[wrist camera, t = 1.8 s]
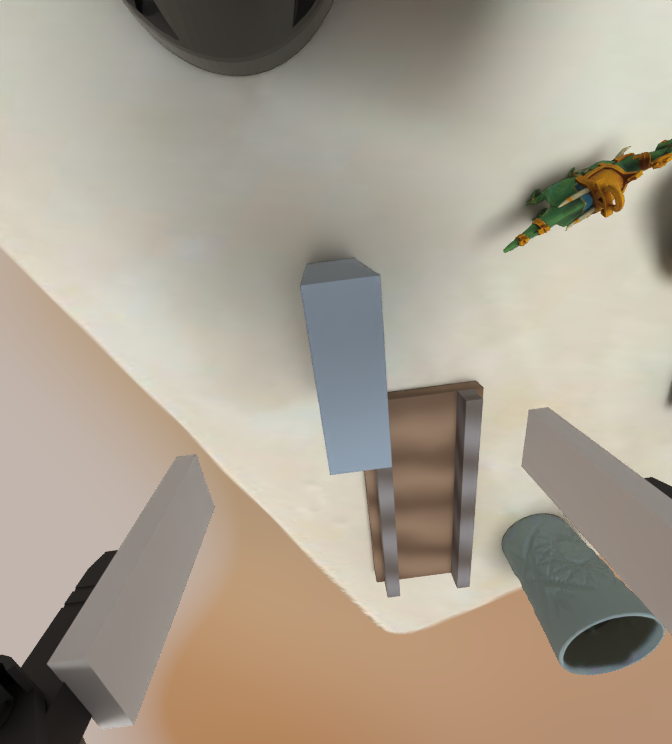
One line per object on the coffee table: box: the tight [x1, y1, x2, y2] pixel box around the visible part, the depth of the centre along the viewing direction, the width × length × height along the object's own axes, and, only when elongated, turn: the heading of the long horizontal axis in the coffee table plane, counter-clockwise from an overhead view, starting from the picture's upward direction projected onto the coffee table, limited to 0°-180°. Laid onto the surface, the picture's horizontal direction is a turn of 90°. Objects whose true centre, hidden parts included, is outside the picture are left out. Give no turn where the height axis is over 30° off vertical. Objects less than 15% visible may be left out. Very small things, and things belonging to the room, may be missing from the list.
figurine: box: [503, 139, 672, 253], centre depth 23 cm, size 3×12×8 cm, turn 123°
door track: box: [365, 381, 483, 597], centre depth 36 cm, size 26×12×4 cm, turn 7°
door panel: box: [300, 258, 392, 475], centre depth 24 cm, size 12×4×12 cm, turn 7°
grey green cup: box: [502, 514, 665, 675], centre depth 36 cm, size 10×10×12 cm
